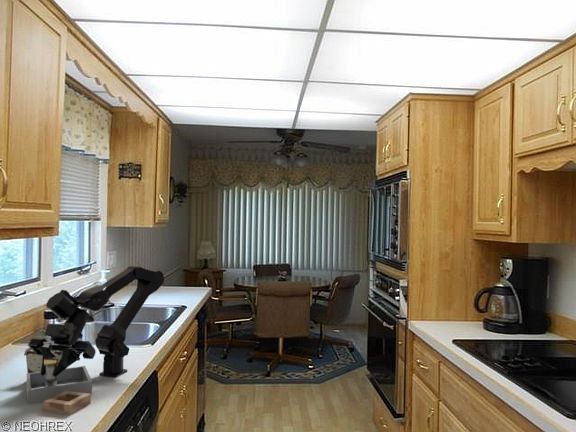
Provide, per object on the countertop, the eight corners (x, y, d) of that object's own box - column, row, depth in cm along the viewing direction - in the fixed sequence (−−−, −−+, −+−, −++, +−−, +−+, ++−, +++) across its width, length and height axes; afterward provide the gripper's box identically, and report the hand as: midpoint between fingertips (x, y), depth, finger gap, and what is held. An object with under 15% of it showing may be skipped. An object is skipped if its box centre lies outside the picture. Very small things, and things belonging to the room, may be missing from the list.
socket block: (65, 405, 129) (65, 390, 129) (90, 408, 127) (90, 393, 127) (43, 417, 122) (43, 401, 122) (69, 420, 120) (69, 405, 120)
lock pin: (50, 390, 136) (51, 356, 136) (61, 391, 135) (62, 357, 135) (40, 394, 132) (40, 360, 132) (51, 396, 131) (52, 361, 131)
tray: (26, 390, 140) (26, 373, 140) (84, 381, 148) (85, 365, 148) (27, 409, 126) (27, 390, 126) (91, 399, 134) (92, 381, 134)
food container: (71, 374, 154) (72, 344, 155) (63, 381, 148) (63, 349, 148) (33, 374, 154) (33, 344, 154) (23, 381, 148) (23, 349, 148)
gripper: (32, 310, 139) (3, 358, 128) (90, 313, 136) (65, 363, 125) (50, 331, 147) (24, 378, 136) (105, 334, 144) (82, 383, 133)
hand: (48, 375), depth 132 cm, fingers open, 3 cm apart
